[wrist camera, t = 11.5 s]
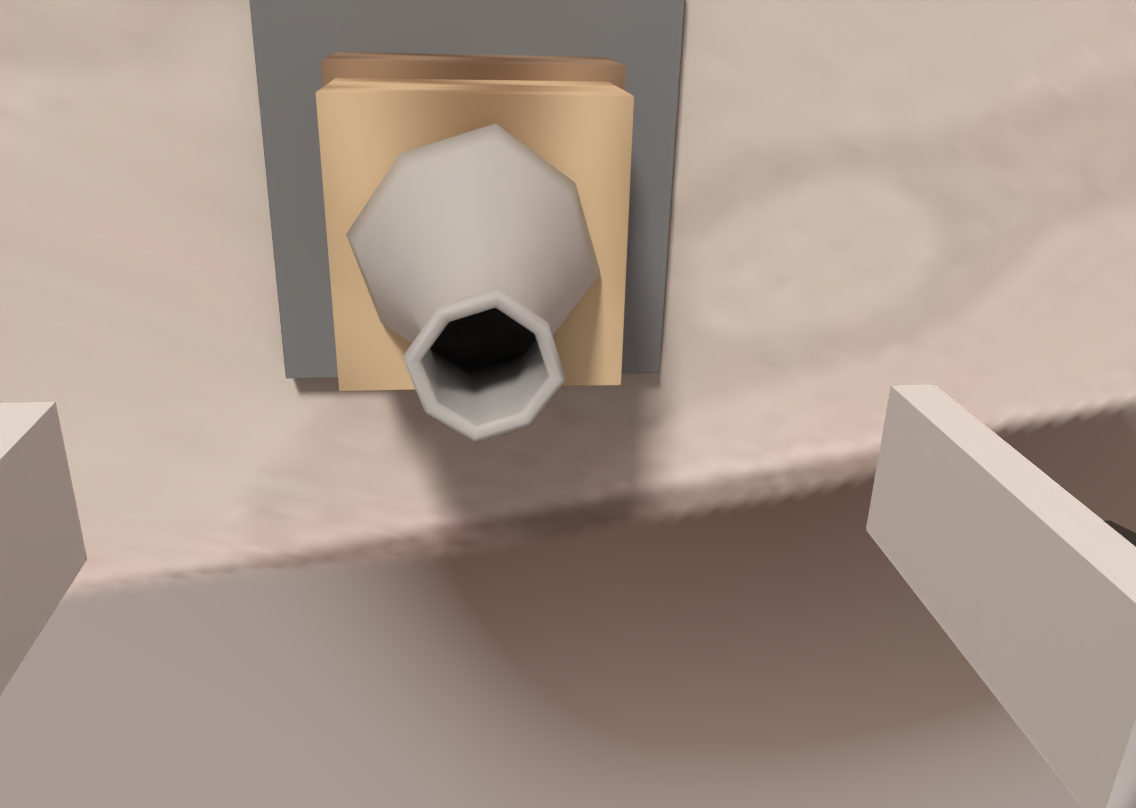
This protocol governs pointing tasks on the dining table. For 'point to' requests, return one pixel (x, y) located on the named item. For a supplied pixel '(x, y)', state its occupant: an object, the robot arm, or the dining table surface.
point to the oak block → (446, 109)
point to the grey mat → (457, 26)
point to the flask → (476, 275)
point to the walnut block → (471, 67)
